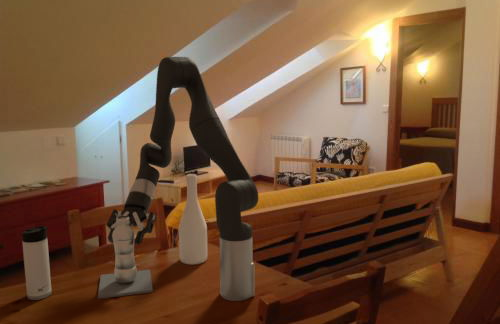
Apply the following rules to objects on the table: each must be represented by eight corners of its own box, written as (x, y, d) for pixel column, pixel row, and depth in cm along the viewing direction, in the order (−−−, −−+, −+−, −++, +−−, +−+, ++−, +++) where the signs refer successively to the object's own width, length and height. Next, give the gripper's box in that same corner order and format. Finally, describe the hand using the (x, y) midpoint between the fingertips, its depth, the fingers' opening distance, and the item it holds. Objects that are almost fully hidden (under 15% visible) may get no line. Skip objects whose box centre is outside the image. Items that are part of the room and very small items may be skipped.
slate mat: (150, 271, 138) (149, 269, 138) (152, 292, 124) (152, 289, 124) (100, 277, 134) (100, 274, 134) (97, 298, 120) (97, 296, 120)
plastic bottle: (128, 287, 125) (125, 221, 122) (109, 284, 127) (106, 219, 124) (141, 278, 131) (139, 215, 128) (123, 275, 133) (120, 213, 130)
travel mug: (46, 300, 119) (40, 231, 116) (22, 300, 119) (16, 231, 116) (56, 290, 125) (51, 224, 122) (34, 290, 125) (28, 224, 122)
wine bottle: (190, 267, 141) (187, 178, 136) (174, 259, 148) (171, 174, 143) (212, 260, 147) (211, 174, 143) (196, 253, 154) (195, 171, 150)
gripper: (115, 189, 135) (96, 235, 126) (157, 191, 131) (140, 239, 122) (125, 201, 141) (107, 246, 131) (165, 203, 137) (150, 250, 128)
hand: (123, 243), depth 127 cm, fingers open, 8 cm apart
